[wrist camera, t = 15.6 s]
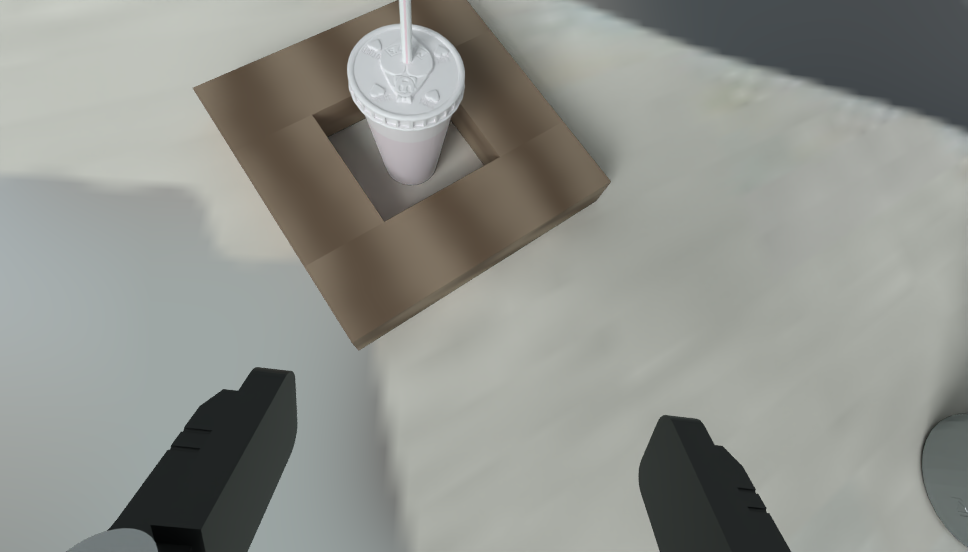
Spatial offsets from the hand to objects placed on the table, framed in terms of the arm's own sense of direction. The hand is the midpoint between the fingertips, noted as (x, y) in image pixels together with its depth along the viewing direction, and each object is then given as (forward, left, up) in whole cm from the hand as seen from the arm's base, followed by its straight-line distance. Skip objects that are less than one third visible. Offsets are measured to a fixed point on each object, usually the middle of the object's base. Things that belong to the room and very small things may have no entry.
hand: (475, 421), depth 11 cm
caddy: (-8, -17, -21) cm, 28 cm away
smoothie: (-8, -16, -21) cm, 28 cm away
